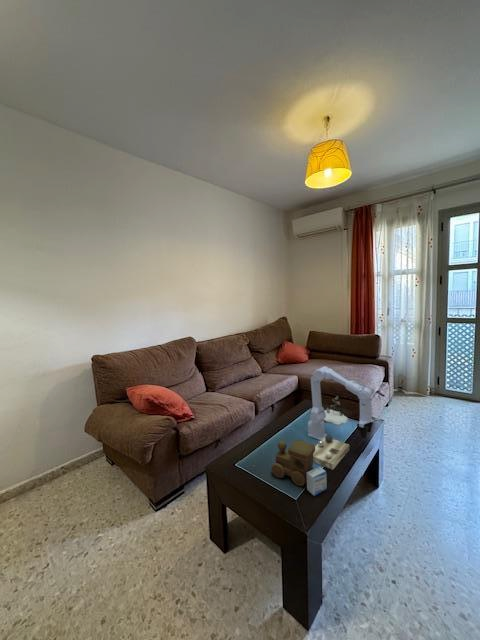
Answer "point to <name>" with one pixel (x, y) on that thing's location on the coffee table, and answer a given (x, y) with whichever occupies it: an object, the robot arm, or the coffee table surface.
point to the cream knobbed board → (334, 448)
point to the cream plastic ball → (328, 454)
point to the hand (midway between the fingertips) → (365, 434)
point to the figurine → (335, 415)
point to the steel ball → (320, 443)
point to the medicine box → (316, 481)
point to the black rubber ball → (328, 438)
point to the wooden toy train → (294, 461)
